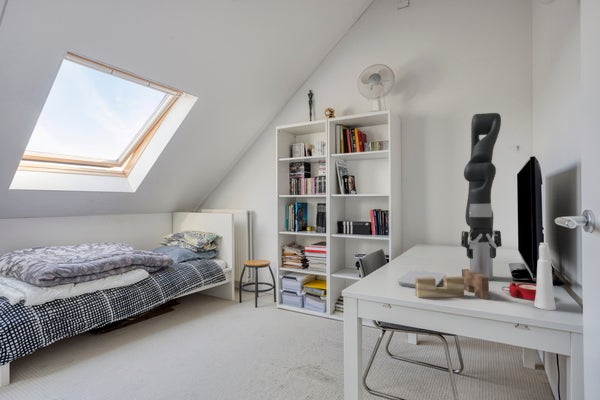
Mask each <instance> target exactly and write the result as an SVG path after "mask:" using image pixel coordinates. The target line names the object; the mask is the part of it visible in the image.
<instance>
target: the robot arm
mask: <svg viewBox="0 0 600 400" xmlns="http://www.w3.org/2000/svg"><path fill="white" fill-rule="evenodd" d="M501 125H502V117H501V114H500V113H498V112H489V113H488V112H487V113H475V114H473V115H472V118H471V125H470V127H471V129H470V132H471V133H470V134H471V135H470V139H471V140H470V141H471V144H470V146H471V147H470V160H469V161H468V162H467V164H466V165H465V167H464V170H463V176H464V179H465V181H467V182H468V194H467V199H466V201H467V202H466V209H465V224H466V225H467V226H468V227H469V228H470V229H469V231H466V230H462V231H461V243H460V245H461V247H463V248H465V250H466V257H467V258H468V259H469V270H471V271H474V272H476V273H479V274H481V275H484V276H486V277H489V281H492V280H494V264H493V263H494V261H493V259H495V258H496V257H497V248H499V247H503V245H502V236H501V234H502V233H501V231H500V230H497V229H496V230H494V212H493V209H492V188H493V183H494V180H495V177H496V173H497V168H496V165H495V164H493V155H494V148H495V146H496V142H497V139H498V137H499V133H500V130H501ZM480 136H484V137H482V138H481V139H480Z"/></svg>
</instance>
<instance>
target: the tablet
mask: <svg viewBox="0 0 600 400" xmlns="http://www.w3.org/2000/svg"><path fill="white" fill-rule="evenodd" d="M426 277H433V278H435V279H436V287H438V286H439V285H440V284H441V283H442V281H443V277H446V273H443V272H437V271H436V272H435V271H429V270H428V271H427V270H426V271H425V270H419V269H417V270H415V269H413V270H409V271H408V272H406V273H405V274H404V275H402V276H401V277H399V278H398V279H397V281H396V282H397V283H398V286H400V287H404V286H405V288H412V289H413V288H414V289H416V287H415V278H426Z"/></svg>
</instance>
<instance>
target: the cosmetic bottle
mask: <svg viewBox="0 0 600 400" xmlns="http://www.w3.org/2000/svg"><path fill="white" fill-rule="evenodd" d="M536 263H537V265H536V266H537V267H536V297H535V300H534V304H533V306H534V307H535V308H538V309H541V310H546V311H555V310H557V306H556V301H555V295H554V286H553V271H552V260H550V246H549V243H548V242H540V243H539V246H538V259H537V262H536Z"/></svg>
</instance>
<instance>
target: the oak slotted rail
mask: <svg viewBox="0 0 600 400" xmlns="http://www.w3.org/2000/svg"><path fill="white" fill-rule="evenodd" d="M442 281H443V286H442V287H438V286H437V287H436V279H435V278H433V277H426V278H415V287H416V288H415V296H416V297H417V298H418V299H420V298H423V299H424V298H446V297H447V298H449V297H454V298H455V297H465V290H464V278H463V277H462V275H460V276H445V277H443V280H442Z"/></svg>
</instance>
